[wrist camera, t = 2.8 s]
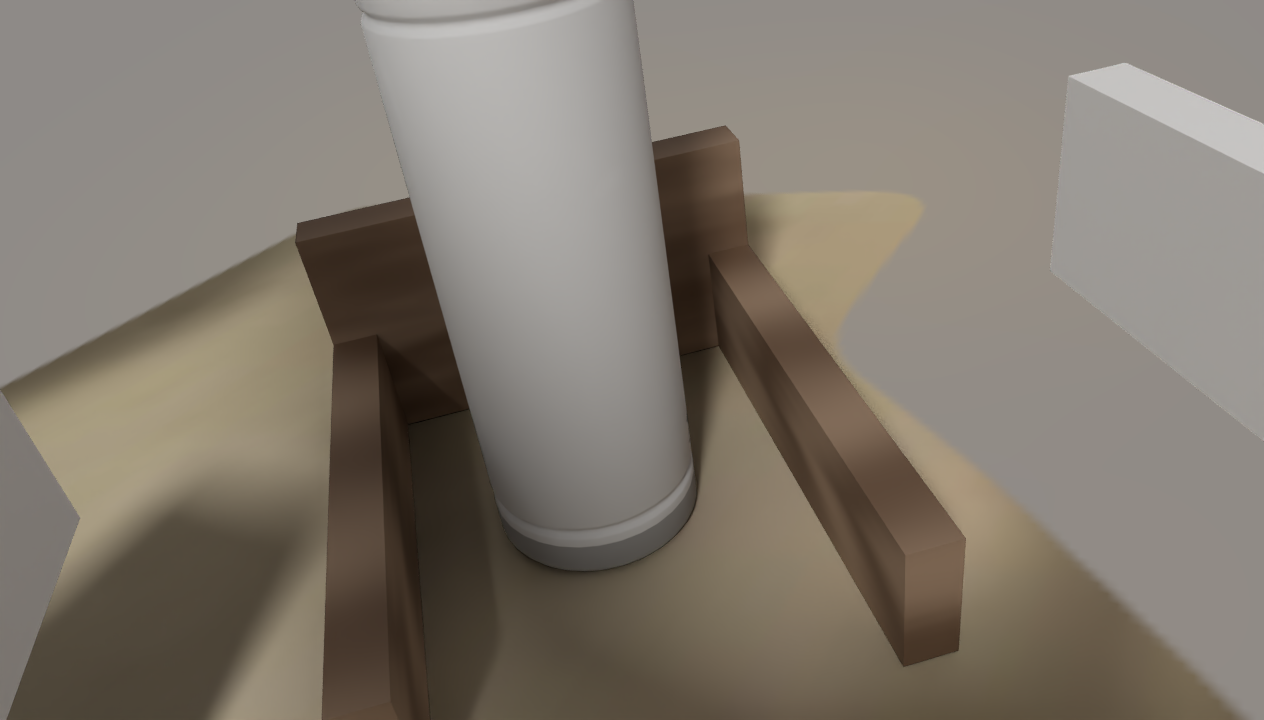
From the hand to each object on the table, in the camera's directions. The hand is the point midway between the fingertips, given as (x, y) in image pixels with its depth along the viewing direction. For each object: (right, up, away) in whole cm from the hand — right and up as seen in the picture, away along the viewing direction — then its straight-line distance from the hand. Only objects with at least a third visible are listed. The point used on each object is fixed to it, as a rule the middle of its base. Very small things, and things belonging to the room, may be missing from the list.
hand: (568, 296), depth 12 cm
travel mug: (0, -5, +20) cm, 21 cm away
